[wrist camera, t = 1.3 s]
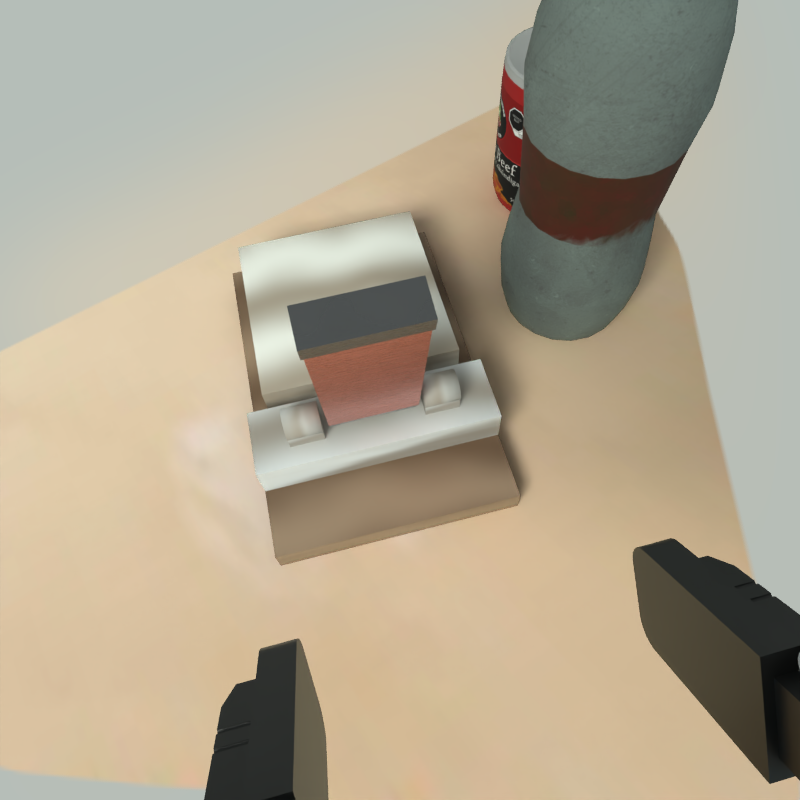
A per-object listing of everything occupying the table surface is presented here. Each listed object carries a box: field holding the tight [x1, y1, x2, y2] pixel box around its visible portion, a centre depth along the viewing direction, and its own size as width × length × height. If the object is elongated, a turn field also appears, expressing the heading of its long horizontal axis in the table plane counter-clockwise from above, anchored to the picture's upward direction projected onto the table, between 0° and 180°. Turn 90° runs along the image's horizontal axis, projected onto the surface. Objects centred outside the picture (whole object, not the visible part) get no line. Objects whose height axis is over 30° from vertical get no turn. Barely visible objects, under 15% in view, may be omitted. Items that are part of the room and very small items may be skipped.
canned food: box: [493, 27, 533, 211], centre depth 46 cm, size 8×8×11 cm
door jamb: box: [233, 211, 520, 565], centre depth 40 cm, size 21×14×6 cm, turn 14°
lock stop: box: [287, 275, 438, 427], centre depth 30 cm, size 2×5×14 cm, turn 103°
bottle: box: [501, 0, 738, 341], centre depth 32 cm, size 9×9×30 cm
